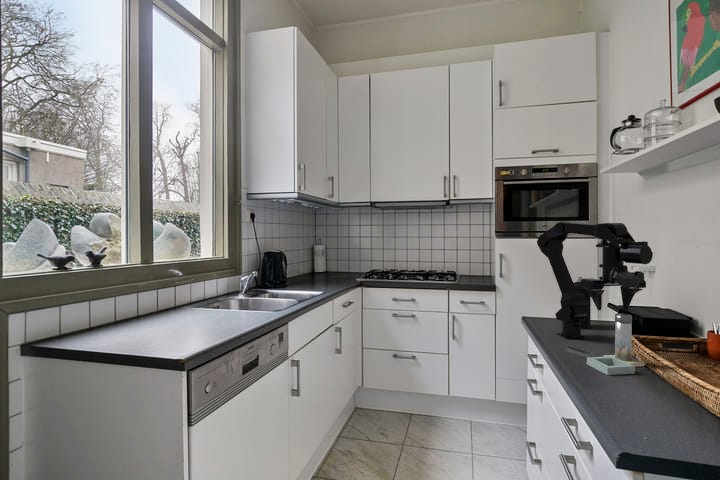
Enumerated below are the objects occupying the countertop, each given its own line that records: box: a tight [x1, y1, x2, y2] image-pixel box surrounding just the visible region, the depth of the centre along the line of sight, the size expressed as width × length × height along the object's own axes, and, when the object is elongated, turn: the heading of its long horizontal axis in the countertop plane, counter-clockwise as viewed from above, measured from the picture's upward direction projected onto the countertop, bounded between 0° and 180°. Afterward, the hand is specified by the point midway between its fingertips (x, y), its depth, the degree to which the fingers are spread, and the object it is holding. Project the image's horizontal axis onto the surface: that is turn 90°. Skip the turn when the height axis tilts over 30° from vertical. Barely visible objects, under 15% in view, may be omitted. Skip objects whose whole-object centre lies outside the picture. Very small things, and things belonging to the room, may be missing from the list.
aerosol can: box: [573, 275, 592, 330], centre depth 149 cm, size 8×8×20 cm
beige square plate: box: [603, 354, 646, 368], centre depth 110 cm, size 7×7×1 cm
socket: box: [586, 356, 636, 376], centre depth 106 cm, size 8×8×2 cm
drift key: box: [565, 346, 595, 359], centre depth 118 cm, size 8×2×1 cm, turn 25°
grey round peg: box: [614, 313, 633, 361], centre depth 110 cm, size 4×4×13 cm
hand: (612, 309), depth 121 cm, fingers open, 9 cm apart
